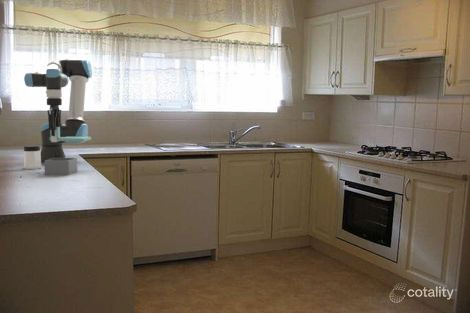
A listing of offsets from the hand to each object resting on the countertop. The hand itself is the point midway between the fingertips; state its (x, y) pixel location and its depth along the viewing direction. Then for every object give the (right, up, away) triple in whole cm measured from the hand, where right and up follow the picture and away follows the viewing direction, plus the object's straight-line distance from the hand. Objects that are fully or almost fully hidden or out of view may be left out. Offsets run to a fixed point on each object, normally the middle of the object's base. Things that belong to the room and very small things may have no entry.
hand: (55, 141), depth 268 cm
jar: (-13, -14, +2) cm, 20 cm away
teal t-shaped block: (+8, 0, 0) cm, 8 cm away
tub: (+8, -16, -15) cm, 24 cm away
